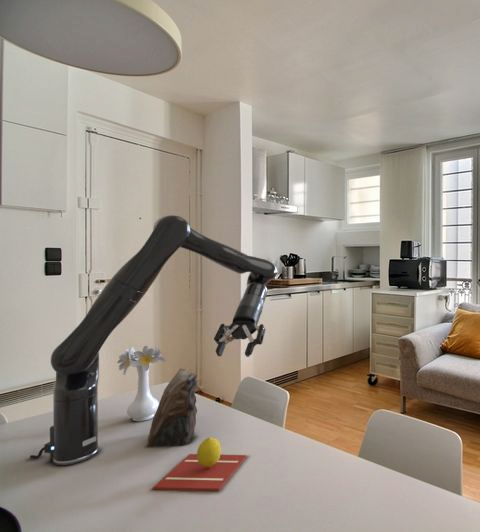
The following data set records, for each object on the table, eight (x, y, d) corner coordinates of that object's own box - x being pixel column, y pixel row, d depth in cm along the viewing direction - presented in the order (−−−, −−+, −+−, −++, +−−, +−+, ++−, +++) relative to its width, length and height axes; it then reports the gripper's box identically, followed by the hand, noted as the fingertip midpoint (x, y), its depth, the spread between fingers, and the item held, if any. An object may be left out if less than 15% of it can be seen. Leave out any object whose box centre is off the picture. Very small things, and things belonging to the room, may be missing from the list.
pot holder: (153, 489, 88) (153, 486, 88) (189, 456, 103) (189, 453, 103) (219, 491, 88) (219, 488, 88) (246, 457, 103) (246, 454, 103)
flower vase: (143, 406, 137) (142, 339, 136) (177, 415, 130) (177, 344, 129) (103, 420, 125) (103, 347, 124) (138, 430, 118) (138, 353, 117)
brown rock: (176, 427, 121) (176, 366, 120) (211, 430, 119) (212, 368, 118) (144, 446, 108) (144, 379, 108) (183, 450, 106) (183, 381, 106)
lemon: (210, 475, 93) (210, 444, 93) (192, 472, 94) (192, 441, 94) (225, 463, 99) (225, 433, 99) (207, 460, 100) (207, 431, 100)
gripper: (223, 304, 118) (204, 348, 107) (267, 304, 118) (252, 349, 106) (231, 317, 123) (214, 361, 112) (273, 318, 123) (260, 361, 112)
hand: (232, 355), depth 109 cm, fingers open, 8 cm apart
